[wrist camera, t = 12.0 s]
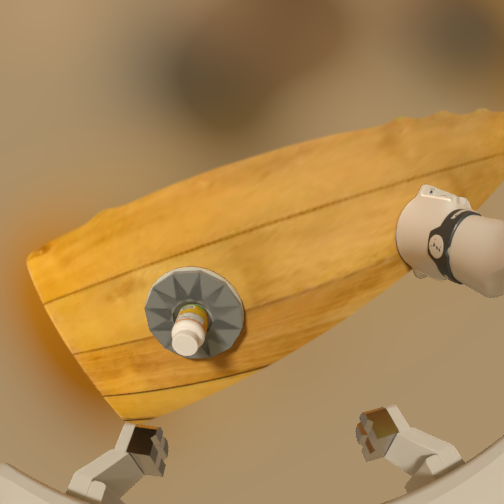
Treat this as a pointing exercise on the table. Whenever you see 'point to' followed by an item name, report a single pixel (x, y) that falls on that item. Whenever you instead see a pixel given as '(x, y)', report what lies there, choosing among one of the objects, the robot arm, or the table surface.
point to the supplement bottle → (190, 329)
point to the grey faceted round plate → (199, 292)
